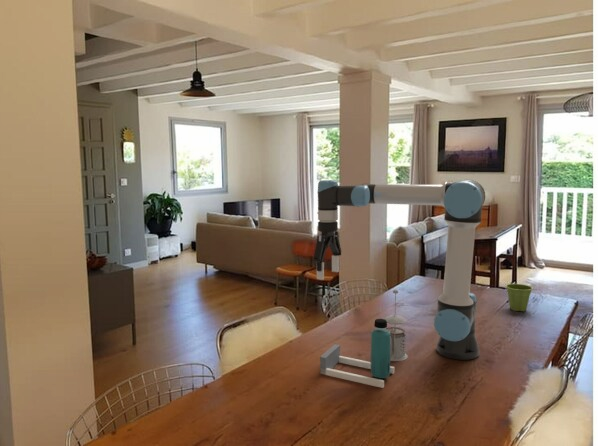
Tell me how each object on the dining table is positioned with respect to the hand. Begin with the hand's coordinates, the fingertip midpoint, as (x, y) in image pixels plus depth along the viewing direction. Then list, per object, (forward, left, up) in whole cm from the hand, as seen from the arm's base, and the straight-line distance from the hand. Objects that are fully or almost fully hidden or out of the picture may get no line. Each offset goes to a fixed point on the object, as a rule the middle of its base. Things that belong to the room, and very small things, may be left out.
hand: (328, 275), depth 181 cm
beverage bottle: (-28, +19, -28) cm, 44 cm away
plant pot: (-64, -81, -28) cm, 107 cm away
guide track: (-20, +19, -28) cm, 39 cm away
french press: (-27, 0, -28) cm, 38 cm away
